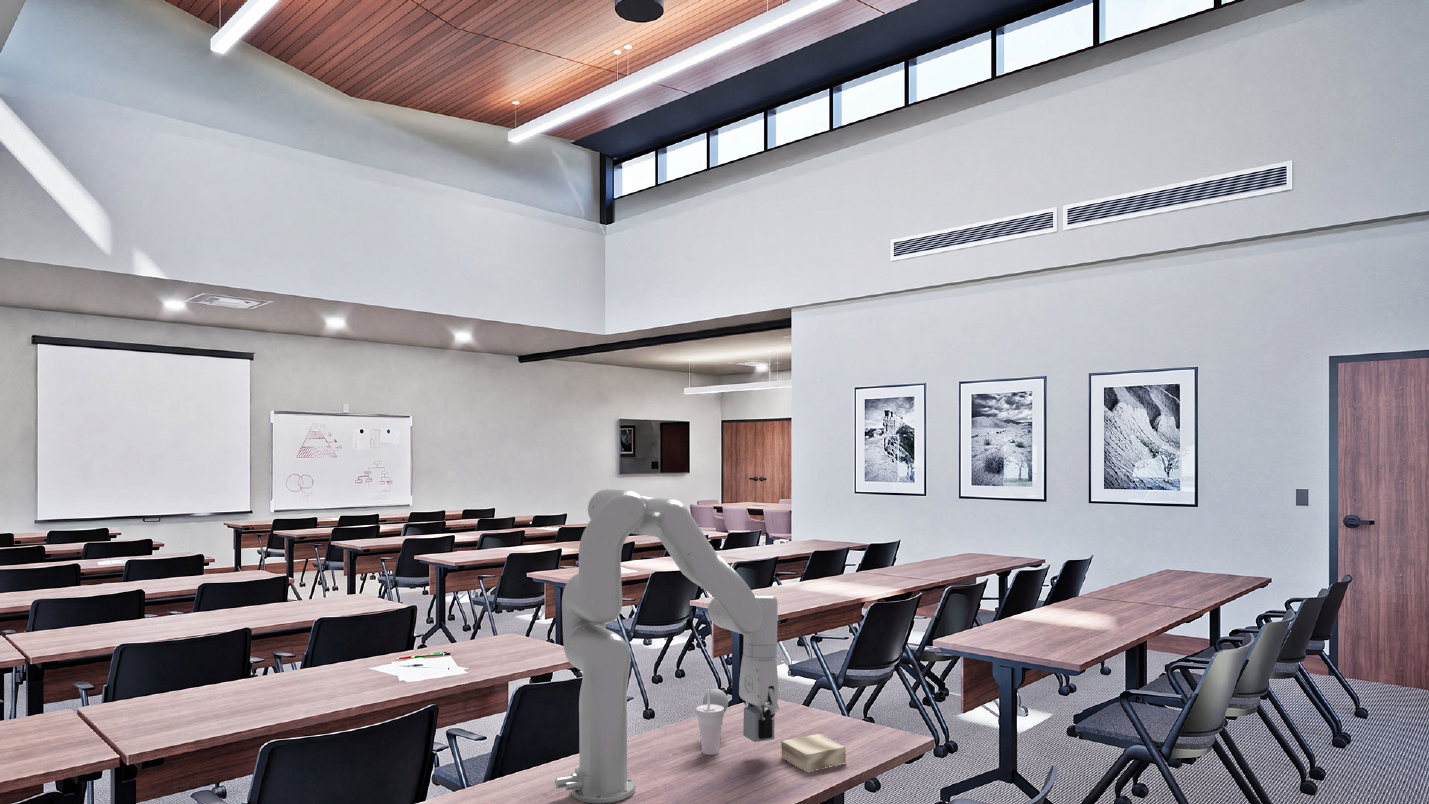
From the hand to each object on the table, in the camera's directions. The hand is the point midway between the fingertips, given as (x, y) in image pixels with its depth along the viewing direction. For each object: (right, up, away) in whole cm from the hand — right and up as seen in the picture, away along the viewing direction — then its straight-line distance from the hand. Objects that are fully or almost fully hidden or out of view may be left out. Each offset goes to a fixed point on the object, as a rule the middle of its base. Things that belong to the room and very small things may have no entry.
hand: (758, 733), depth 187 cm
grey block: (0, -1, 0) cm, 1 cm away
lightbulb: (-9, -6, +14) cm, 18 cm away
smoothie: (-11, -6, +3) cm, 12 cm away
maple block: (+12, -5, -3) cm, 13 cm away
